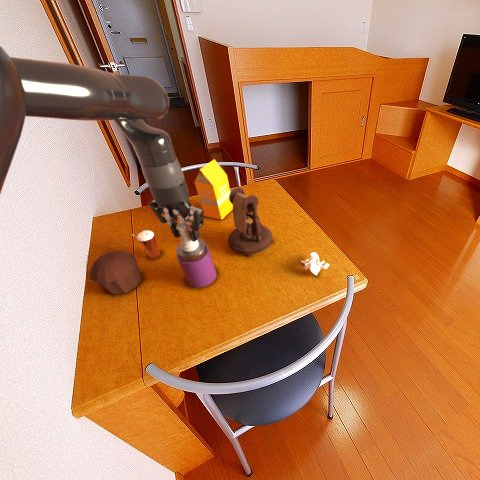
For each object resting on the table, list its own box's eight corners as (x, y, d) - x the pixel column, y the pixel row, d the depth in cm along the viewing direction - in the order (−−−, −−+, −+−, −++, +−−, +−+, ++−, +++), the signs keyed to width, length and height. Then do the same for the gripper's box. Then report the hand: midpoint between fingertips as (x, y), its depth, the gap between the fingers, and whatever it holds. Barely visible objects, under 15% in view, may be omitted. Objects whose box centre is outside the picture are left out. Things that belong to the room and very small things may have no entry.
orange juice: (204, 216, 105) (189, 167, 92) (217, 204, 112) (205, 157, 99) (222, 220, 104) (209, 171, 91) (234, 207, 110) (224, 160, 97)
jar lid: (196, 264, 72) (194, 259, 71) (171, 258, 74) (169, 253, 72) (212, 246, 78) (210, 240, 76) (189, 240, 79) (187, 235, 78)
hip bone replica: (331, 261, 83) (314, 269, 80) (329, 271, 86) (312, 280, 82) (315, 247, 88) (298, 254, 84) (314, 257, 91) (297, 264, 87)
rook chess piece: (183, 254, 72) (173, 230, 67) (180, 244, 75) (171, 221, 70) (201, 249, 74) (192, 225, 69) (197, 239, 77) (189, 216, 71)
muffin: (109, 271, 83) (92, 246, 76) (149, 265, 85) (136, 241, 79) (95, 302, 74) (74, 277, 68) (140, 295, 76) (124, 270, 70)
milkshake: (144, 253, 89) (131, 228, 83) (162, 248, 91) (151, 224, 84) (144, 262, 86) (130, 237, 80) (162, 257, 88) (151, 233, 81)
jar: (206, 290, 78) (195, 262, 71) (180, 284, 80) (167, 255, 72) (222, 270, 85) (213, 241, 77) (198, 264, 86) (187, 236, 79)
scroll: (220, 243, 94) (206, 192, 81) (254, 224, 103) (246, 175, 90) (247, 264, 87) (237, 212, 74) (281, 241, 96) (277, 191, 83)
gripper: (125, 181, 60) (154, 241, 71) (182, 192, 57) (203, 252, 68) (150, 167, 65) (173, 224, 76) (203, 176, 63) (219, 234, 74)
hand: (187, 237), depth 72 cm, fingers open, 4 cm apart
